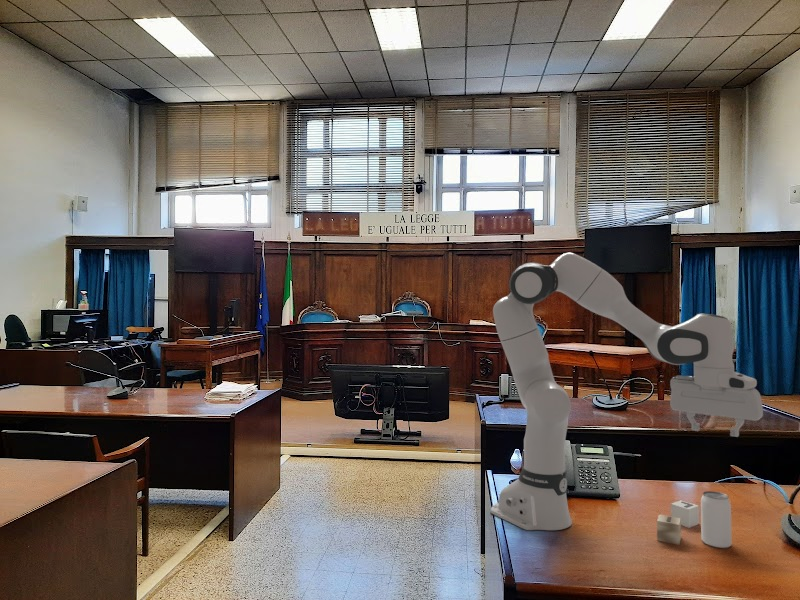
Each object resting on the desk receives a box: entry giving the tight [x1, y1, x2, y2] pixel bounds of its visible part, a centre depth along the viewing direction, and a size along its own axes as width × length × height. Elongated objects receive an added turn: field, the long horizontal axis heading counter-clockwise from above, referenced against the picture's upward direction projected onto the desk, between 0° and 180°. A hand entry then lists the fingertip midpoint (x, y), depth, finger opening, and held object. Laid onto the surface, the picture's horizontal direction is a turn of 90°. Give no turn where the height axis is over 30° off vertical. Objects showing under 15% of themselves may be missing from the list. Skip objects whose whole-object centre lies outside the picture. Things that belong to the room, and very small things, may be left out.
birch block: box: [656, 514, 682, 546], centre depth 135 cm, size 5×5×5 cm
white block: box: [670, 499, 700, 529], centre depth 145 cm, size 5×5×5 cm
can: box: [700, 490, 732, 549], centre depth 133 cm, size 6×6×12 cm
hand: (714, 433), depth 133 cm, fingers open, 7 cm apart
